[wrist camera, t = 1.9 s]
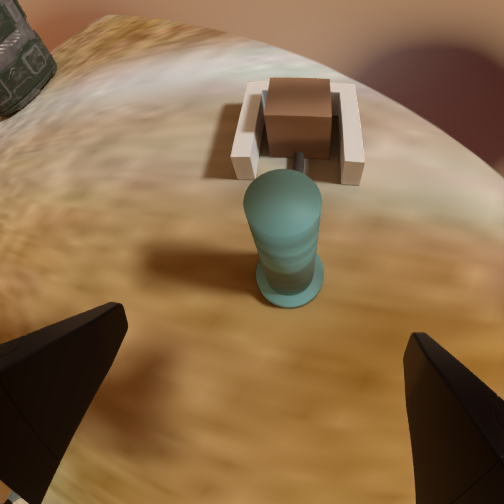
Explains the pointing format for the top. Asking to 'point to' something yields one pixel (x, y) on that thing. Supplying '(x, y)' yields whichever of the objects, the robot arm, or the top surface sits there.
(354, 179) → the lane
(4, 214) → the top surface
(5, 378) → the robot arm
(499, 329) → the top surface
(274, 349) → the top surface
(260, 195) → the tethered block
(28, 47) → the canister
